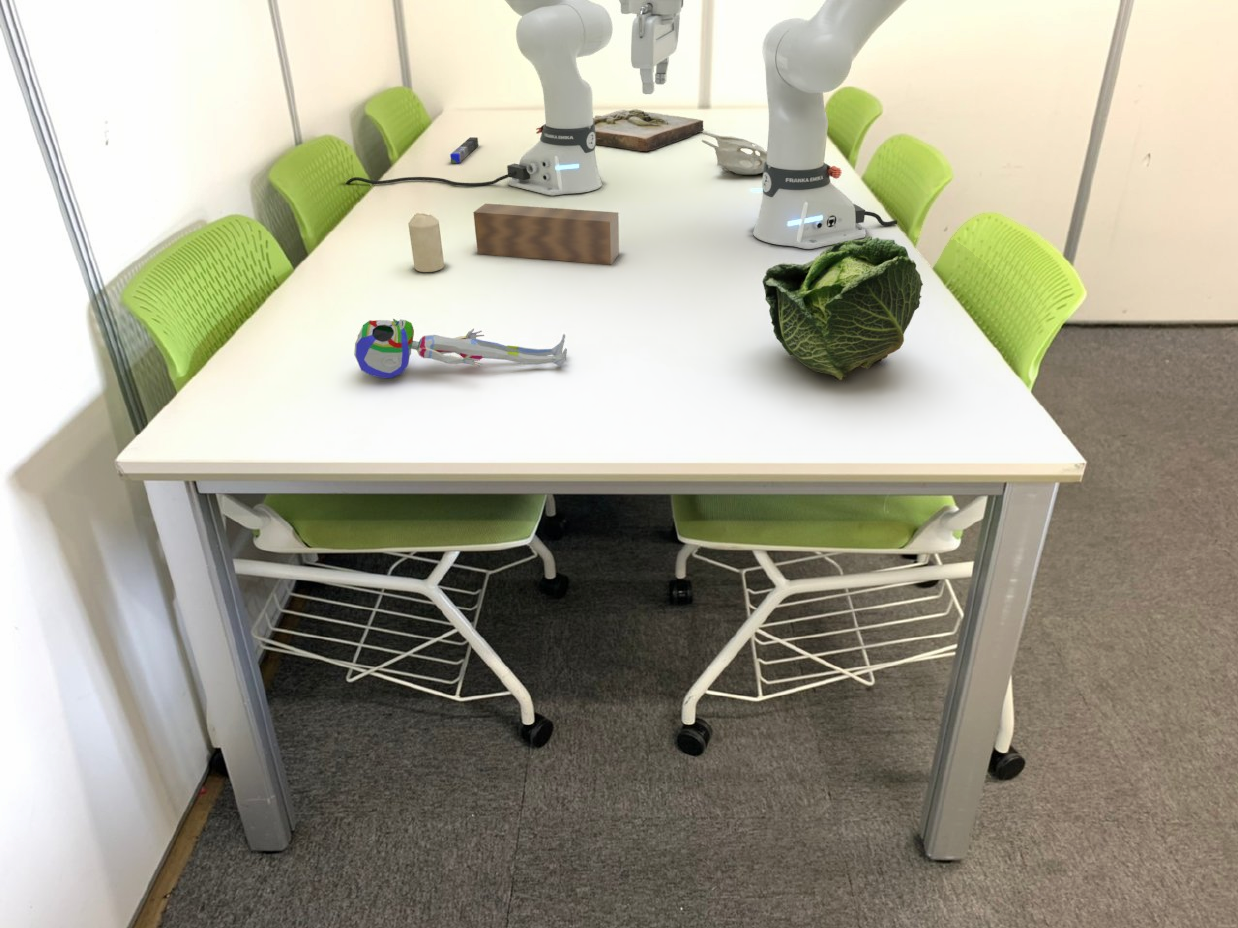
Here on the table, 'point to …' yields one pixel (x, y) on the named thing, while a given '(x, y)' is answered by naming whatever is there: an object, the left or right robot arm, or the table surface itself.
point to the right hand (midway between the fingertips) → (654, 88)
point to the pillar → (464, 150)
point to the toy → (435, 349)
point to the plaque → (643, 129)
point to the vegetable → (844, 304)
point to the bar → (547, 233)
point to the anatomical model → (738, 155)
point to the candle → (426, 243)
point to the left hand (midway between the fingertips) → (641, 11)
